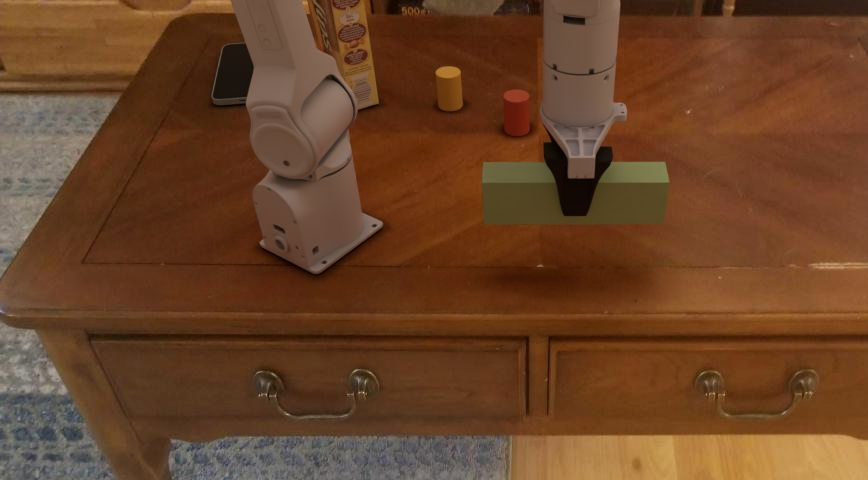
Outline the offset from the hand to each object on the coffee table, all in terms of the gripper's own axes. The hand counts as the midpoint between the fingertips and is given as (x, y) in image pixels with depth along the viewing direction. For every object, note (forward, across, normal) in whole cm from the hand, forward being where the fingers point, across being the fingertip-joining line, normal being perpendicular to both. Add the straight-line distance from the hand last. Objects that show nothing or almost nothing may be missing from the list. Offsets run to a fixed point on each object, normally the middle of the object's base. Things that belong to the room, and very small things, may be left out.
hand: (573, 201), depth 75 cm
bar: (+1, 0, 0) cm, 1 cm away
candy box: (+9, +35, +26) cm, 44 cm away
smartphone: (+8, +40, +40) cm, 57 cm away
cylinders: (+8, +29, +9) cm, 32 cm away
